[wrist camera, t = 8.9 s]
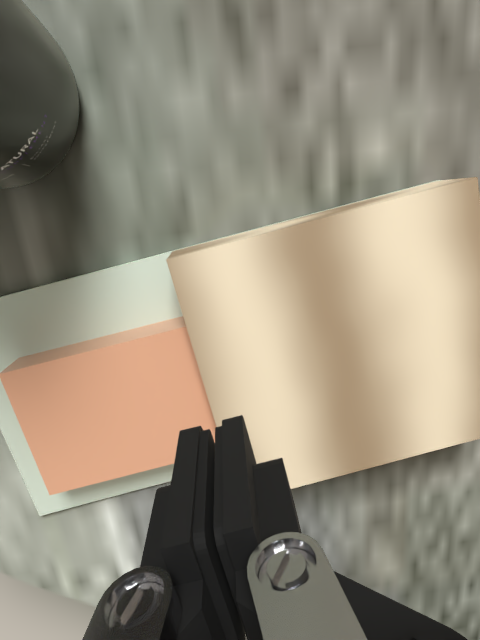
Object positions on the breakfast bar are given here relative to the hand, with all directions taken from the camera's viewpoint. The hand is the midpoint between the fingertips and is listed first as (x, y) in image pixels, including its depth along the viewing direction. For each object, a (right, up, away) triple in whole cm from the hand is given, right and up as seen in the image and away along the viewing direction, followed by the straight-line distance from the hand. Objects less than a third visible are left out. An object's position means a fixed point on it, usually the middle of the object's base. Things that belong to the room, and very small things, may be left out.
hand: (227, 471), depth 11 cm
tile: (-5, 0, +9) cm, 11 cm away
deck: (+5, +3, +10) cm, 11 cm away
